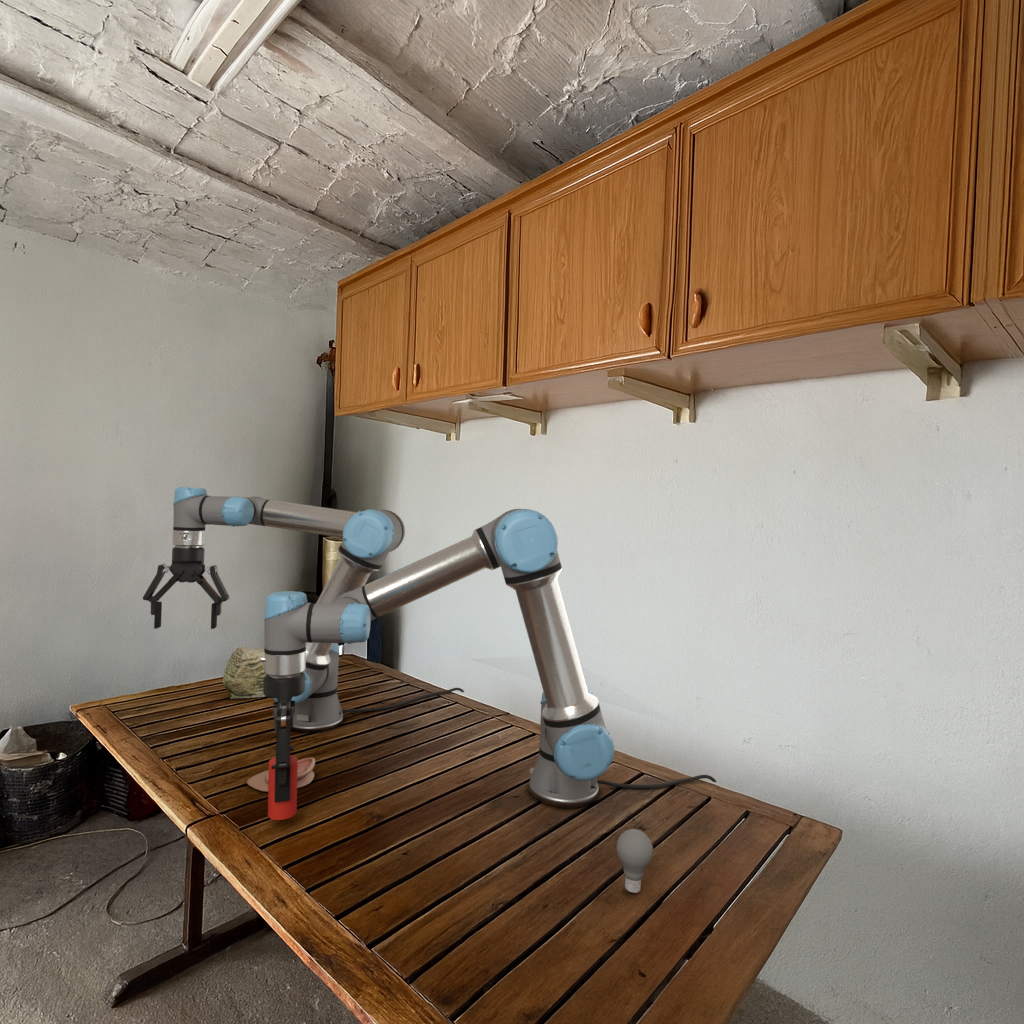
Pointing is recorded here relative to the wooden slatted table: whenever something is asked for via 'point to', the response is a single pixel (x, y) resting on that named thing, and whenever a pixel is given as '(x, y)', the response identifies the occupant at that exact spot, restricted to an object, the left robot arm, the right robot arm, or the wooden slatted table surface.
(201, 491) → the left robot arm
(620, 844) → the light bulb
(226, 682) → the fossil
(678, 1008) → the wooden slatted table surface
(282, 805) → the cylinder
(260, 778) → the anatomical model
